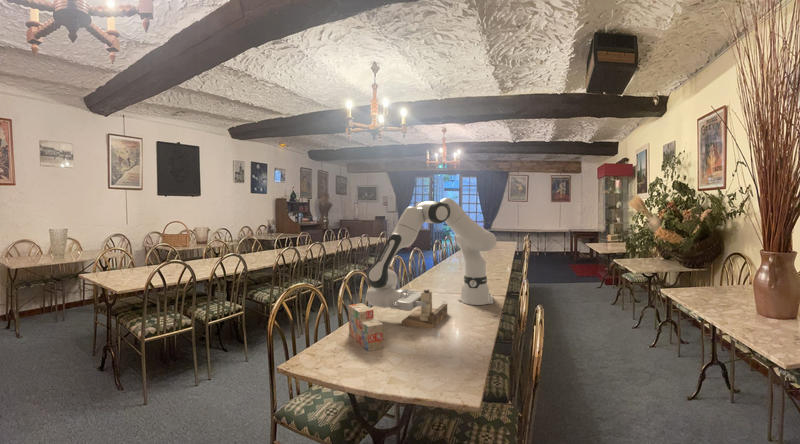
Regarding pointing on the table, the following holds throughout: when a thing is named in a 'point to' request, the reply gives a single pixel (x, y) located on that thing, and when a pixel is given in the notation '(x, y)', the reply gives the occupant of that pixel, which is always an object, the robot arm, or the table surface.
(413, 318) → the fenced board
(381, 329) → the stack of blocks
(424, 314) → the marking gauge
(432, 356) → the table surface
